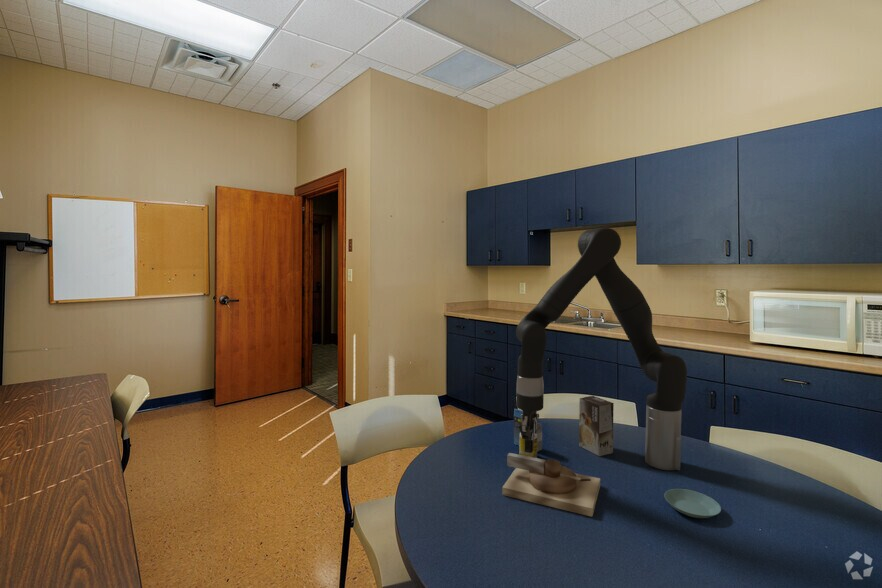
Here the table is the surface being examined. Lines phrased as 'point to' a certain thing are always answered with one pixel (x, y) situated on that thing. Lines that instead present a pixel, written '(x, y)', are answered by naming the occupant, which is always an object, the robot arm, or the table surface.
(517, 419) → the label tape box
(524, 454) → the supplement bottle
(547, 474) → the dial
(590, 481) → the base plate
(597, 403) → the coffee box
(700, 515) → the saucer
